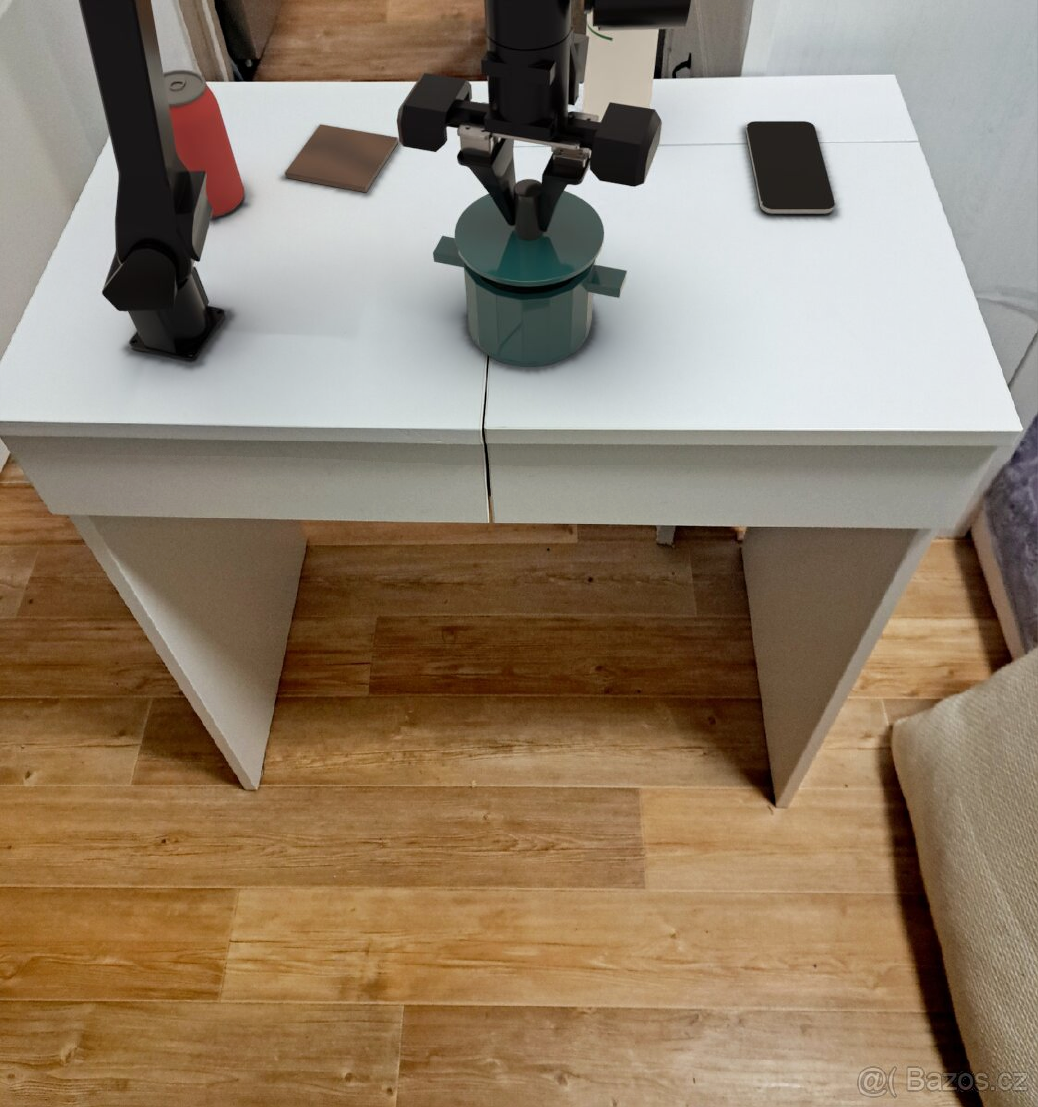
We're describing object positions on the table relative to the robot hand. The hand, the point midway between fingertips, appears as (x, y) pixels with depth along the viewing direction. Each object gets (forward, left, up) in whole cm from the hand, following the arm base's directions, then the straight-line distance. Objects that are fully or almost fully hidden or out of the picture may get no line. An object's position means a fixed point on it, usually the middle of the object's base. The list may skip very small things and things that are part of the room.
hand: (529, 225), depth 75 cm
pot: (0, 0, -10) cm, 10 cm away
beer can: (+8, +36, -10) cm, 38 cm away
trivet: (+18, +26, -10) cm, 33 cm away
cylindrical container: (+32, 0, -10) cm, 34 cm away
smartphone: (+29, -19, -10) cm, 36 cm away
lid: (0, 0, -1) cm, 1 cm away
